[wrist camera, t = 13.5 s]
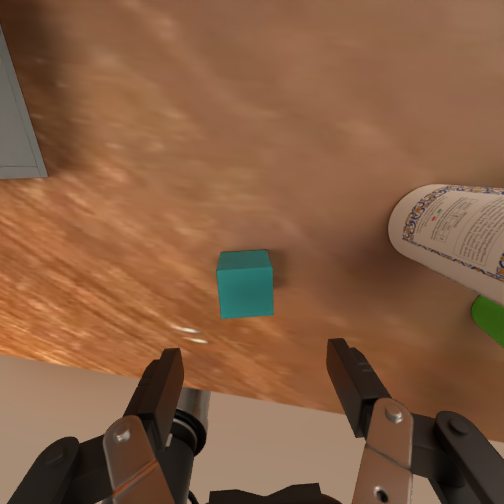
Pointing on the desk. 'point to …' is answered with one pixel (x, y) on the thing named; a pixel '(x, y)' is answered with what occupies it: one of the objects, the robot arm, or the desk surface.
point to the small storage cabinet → (16, 126)
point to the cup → (489, 318)
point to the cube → (245, 284)
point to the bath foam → (454, 234)
